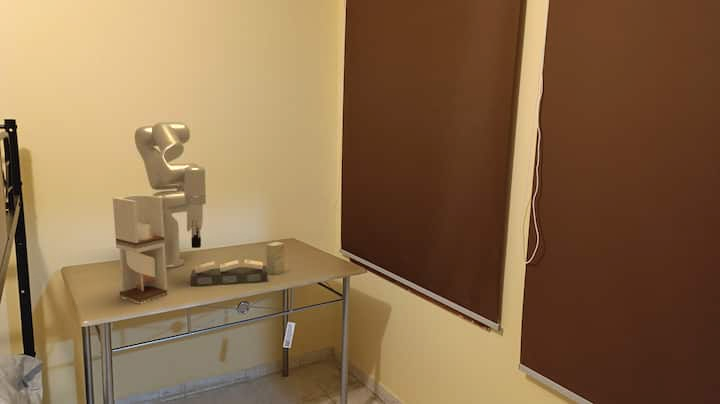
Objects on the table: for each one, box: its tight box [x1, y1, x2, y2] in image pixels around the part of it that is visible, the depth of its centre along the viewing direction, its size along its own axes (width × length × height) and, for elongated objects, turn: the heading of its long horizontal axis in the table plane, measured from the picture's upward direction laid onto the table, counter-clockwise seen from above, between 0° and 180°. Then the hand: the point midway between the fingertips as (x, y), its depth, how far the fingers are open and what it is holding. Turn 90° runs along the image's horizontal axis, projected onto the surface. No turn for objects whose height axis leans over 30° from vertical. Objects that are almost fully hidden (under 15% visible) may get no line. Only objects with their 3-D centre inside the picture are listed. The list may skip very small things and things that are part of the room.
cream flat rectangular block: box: [219, 259, 240, 272], centre depth 183 cm, size 7×4×2 cm, turn 104°
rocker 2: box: [243, 259, 264, 269], centre depth 185 cm, size 7×4×2 cm, turn 104°
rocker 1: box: [194, 260, 216, 273], centre depth 181 cm, size 7×4×2 cm, turn 104°
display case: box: [112, 193, 168, 303], centre depth 164 cm, size 11×11×35 cm
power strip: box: [190, 265, 268, 288], centre depth 184 cm, size 28×8×4 cm, turn 104°
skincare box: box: [266, 241, 285, 276], centre depth 194 cm, size 6×4×12 cm
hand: (196, 247), depth 180 cm, fingers closed
